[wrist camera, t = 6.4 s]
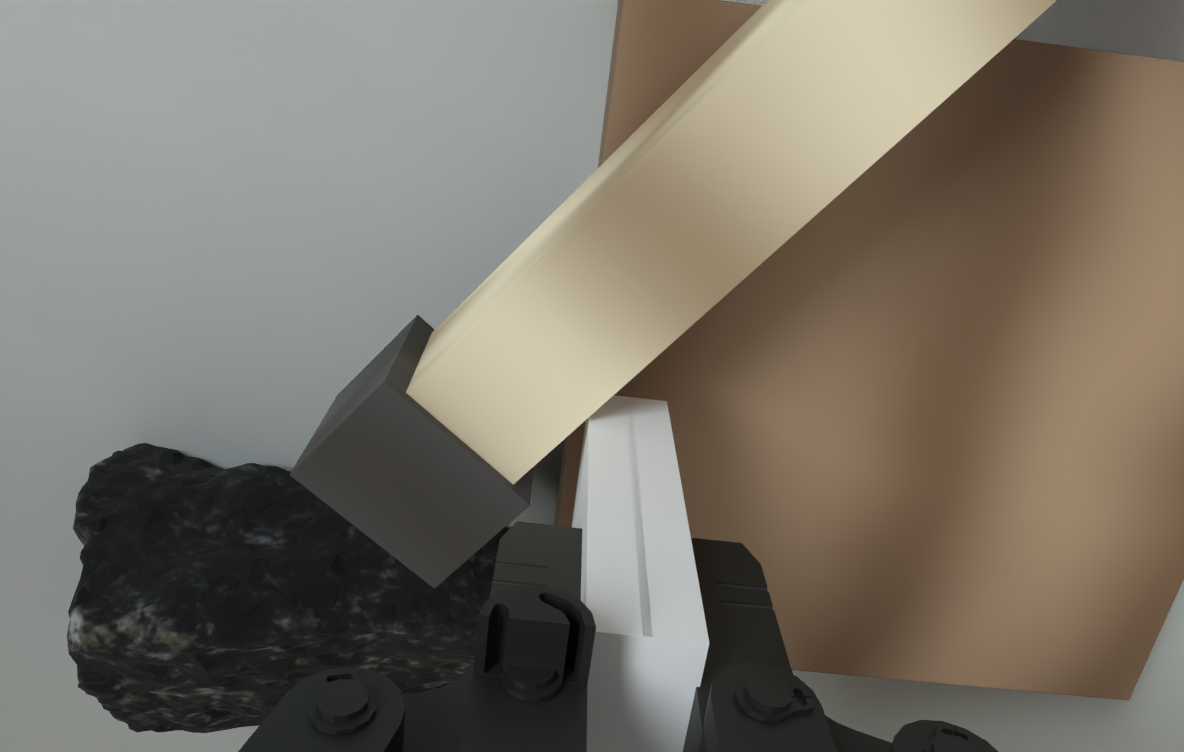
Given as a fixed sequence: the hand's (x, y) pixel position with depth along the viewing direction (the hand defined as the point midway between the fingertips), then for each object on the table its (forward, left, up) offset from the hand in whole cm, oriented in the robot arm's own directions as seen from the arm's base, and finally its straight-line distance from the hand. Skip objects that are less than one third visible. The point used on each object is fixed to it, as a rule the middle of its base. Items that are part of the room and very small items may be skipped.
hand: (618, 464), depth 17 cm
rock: (-6, -6, -5) cm, 10 cm away
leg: (0, +5, -2) cm, 5 cm away
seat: (+6, +4, -5) cm, 9 cm away
